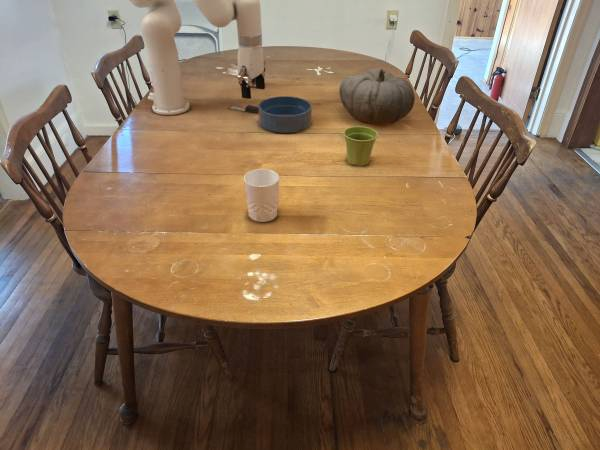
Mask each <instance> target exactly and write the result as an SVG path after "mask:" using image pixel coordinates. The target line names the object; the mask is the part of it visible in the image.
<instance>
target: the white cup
mask: <svg viewBox="0 0 600 450" xmlns="http://www.w3.org/2000/svg"><path fill="white" fill-rule="evenodd" d="M243 182H244V183H243V184H244V191H245V199H246V200H245V201H246V205H247V212H248V217H249V218H250V219H251V220H252V221H255V222H258V223H266V222H271V221H273V220H275V218H276V217H277V216H278V205H279V194H280V174H278V173H277V172H276V171H274V170H272V169H268V168H258V169H252V170H250V171H247V172H246V173H245V174H244V176H243Z"/></svg>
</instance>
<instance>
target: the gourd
mask: <svg viewBox="0 0 600 450" xmlns="http://www.w3.org/2000/svg"><path fill="white" fill-rule="evenodd" d="M338 90H339V91H338V93H339V98H340V102H341V104H342V106H343V107H344V108H345V110H346V111H347V112H348V113H349V115H350V116H351V117H353V118H354V119H355V120H357V121H362V122H364V123H366V124H374V125H380V126H387V125H390V124H391V125H392V124H395V123H397V122H398V121H401V120H402V119H403V118H405V117H406V116H407V115H408V114H409V113H410V112H412V109H414V108H413V107H414V106H415V101H416V99H415V97H416V96H415V92H414V88H413V87H412V85H411V84H410V83H409V81H408V80H407V79H405V78H403V77H401V76H395V75H394V74H392V73H391V72H390V71H385V70H384V69H383V68H371V69H367V70H366V71H363V72H361V73H360V74H357V75H349V76H347V77H345V78H344V79H343V80H342V81H341V83H340V85H339V89H338Z"/></svg>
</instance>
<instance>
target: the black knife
mask: <svg viewBox="0 0 600 450" xmlns="http://www.w3.org/2000/svg"><path fill="white" fill-rule="evenodd" d="M229 109H230V110H235V111H241V112H245V113H246V112H247V113H251V114H258V115H259V111H258V105H257V106H256V105H252V104H251V105H250V104H248V105H246V106H244V107H243V106H242V107H240V106H236V105H231V106H230V107H229Z"/></svg>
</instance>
